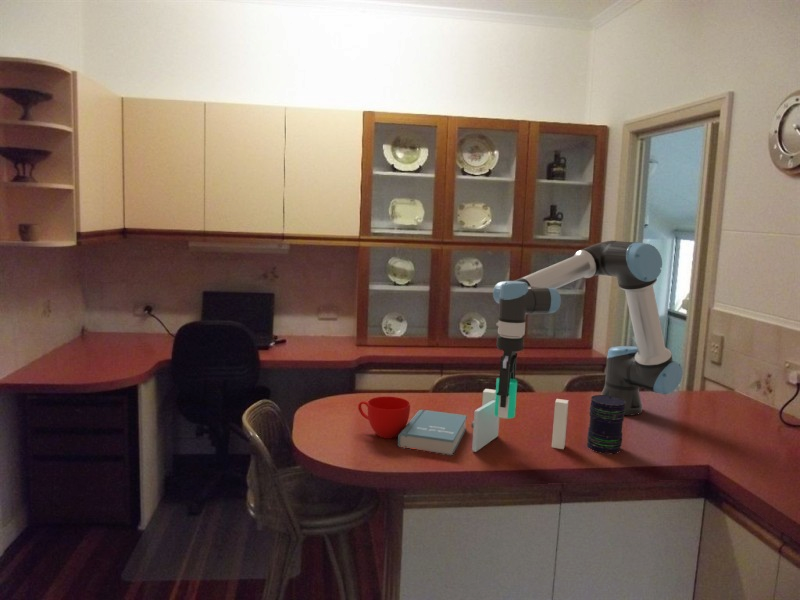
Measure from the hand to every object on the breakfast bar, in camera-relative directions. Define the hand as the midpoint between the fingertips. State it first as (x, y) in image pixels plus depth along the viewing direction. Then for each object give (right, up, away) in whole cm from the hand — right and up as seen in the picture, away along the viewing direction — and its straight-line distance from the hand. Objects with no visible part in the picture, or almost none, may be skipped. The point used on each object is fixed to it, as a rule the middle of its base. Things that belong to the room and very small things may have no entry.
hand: (504, 413), depth 174 cm
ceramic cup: (-36, -8, +10) cm, 38 cm away
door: (-6, -10, +6) cm, 12 cm away
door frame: (+7, -10, +9) cm, 15 cm away
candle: (0, -1, 0) cm, 1 cm away
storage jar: (+31, -12, +6) cm, 33 cm away
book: (-20, -10, +8) cm, 24 cm away
